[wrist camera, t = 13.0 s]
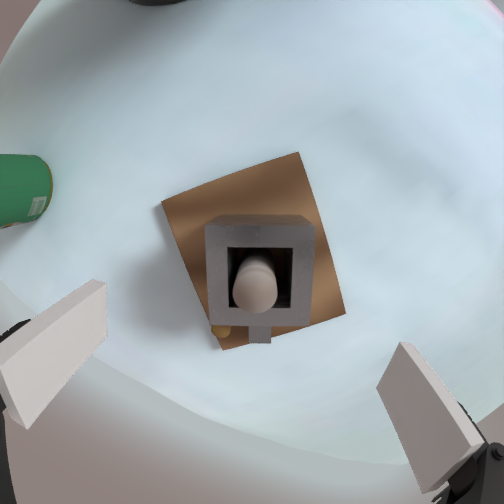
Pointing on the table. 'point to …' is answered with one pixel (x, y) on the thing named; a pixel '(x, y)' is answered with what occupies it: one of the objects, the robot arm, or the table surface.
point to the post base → (255, 200)
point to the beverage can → (23, 188)
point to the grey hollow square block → (288, 286)
